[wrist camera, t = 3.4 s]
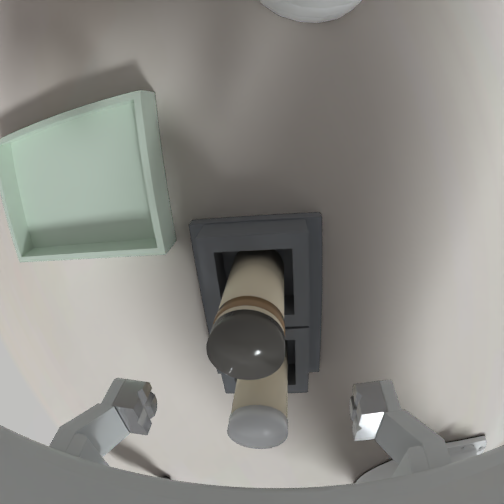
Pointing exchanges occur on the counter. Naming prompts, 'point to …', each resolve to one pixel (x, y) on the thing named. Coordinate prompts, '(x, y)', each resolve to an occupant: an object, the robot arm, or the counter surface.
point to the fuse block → (295, 278)
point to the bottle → (311, 9)
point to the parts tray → (88, 183)
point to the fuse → (261, 410)
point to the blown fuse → (250, 318)
